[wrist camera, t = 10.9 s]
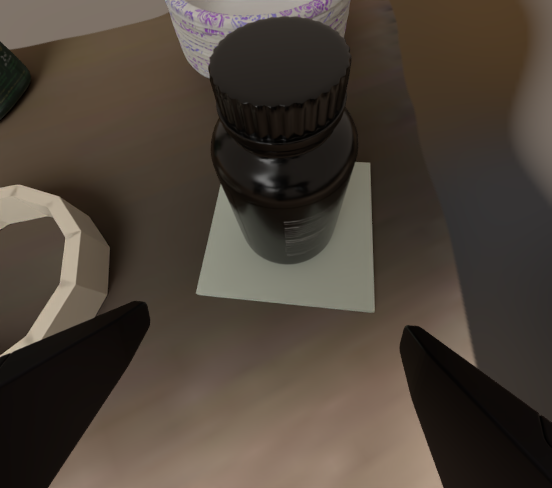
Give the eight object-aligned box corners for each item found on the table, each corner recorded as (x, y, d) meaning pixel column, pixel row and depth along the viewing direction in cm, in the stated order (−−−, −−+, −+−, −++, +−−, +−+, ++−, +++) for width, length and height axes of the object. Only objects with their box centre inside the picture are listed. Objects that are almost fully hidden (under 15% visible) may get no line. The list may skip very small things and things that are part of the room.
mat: (372, 312, 17) (374, 311, 17) (198, 294, 18) (195, 293, 18) (368, 166, 22) (370, 162, 21) (228, 159, 23) (227, 155, 22)
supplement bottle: (335, 189, 20) (388, -2, 9) (330, 273, 18) (393, 143, 7) (250, 182, 21) (205, -4, 10) (233, 261, 19) (148, 127, 8)
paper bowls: (318, 15, 30) (326, -92, 23) (357, 105, 25) (385, 0, 17) (190, 37, 30) (157, -63, 23) (199, 134, 24) (159, 40, 17)
